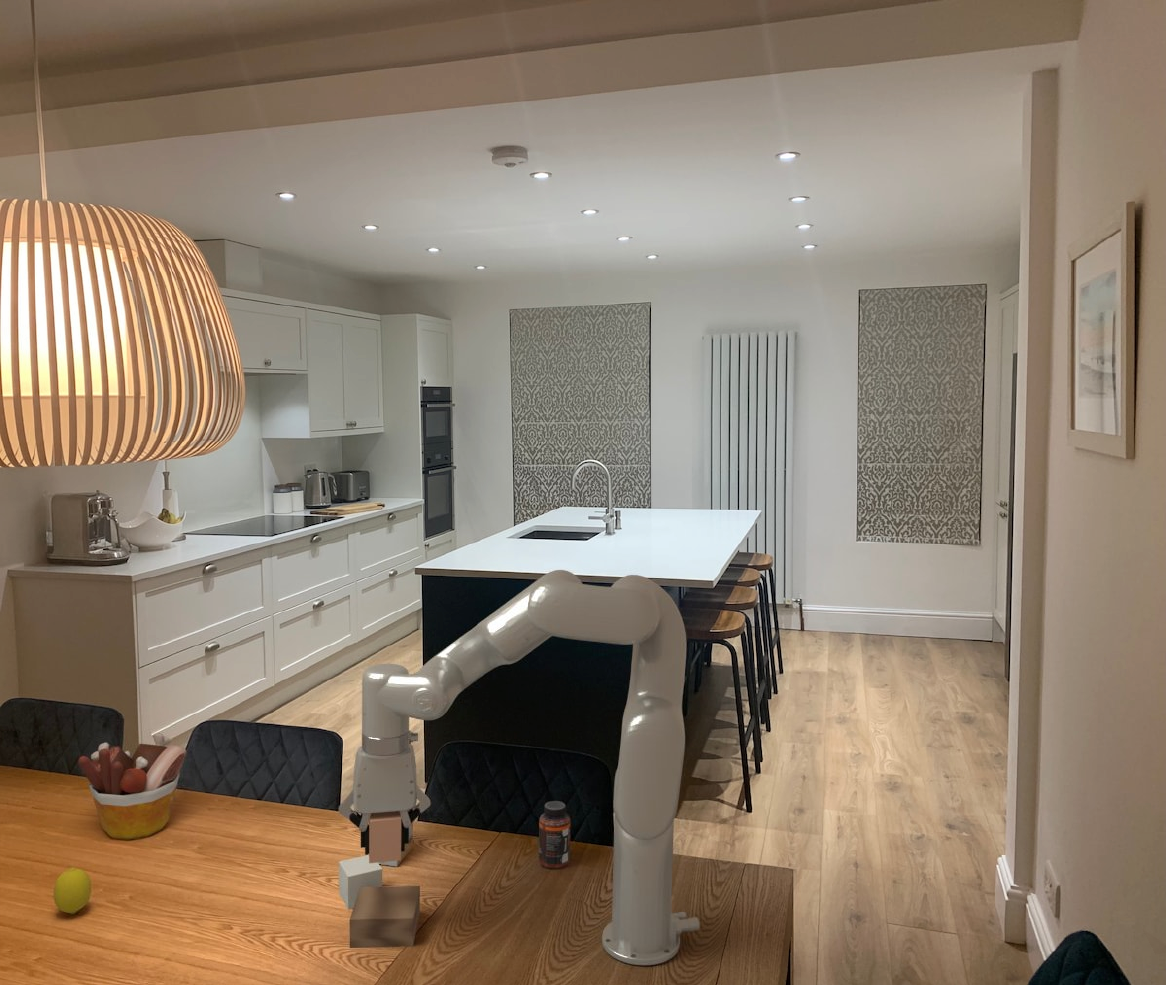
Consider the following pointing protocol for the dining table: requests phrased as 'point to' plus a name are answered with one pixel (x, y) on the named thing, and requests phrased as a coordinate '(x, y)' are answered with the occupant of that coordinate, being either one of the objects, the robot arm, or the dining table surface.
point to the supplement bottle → (554, 836)
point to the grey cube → (357, 878)
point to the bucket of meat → (134, 786)
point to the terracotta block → (384, 837)
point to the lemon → (72, 890)
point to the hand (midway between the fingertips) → (384, 848)
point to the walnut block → (385, 917)
